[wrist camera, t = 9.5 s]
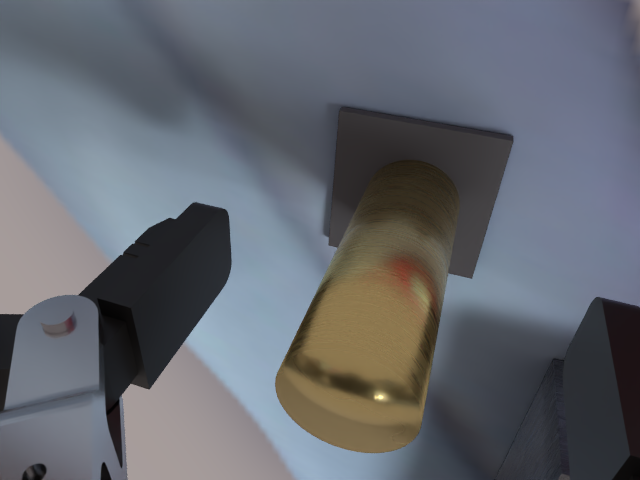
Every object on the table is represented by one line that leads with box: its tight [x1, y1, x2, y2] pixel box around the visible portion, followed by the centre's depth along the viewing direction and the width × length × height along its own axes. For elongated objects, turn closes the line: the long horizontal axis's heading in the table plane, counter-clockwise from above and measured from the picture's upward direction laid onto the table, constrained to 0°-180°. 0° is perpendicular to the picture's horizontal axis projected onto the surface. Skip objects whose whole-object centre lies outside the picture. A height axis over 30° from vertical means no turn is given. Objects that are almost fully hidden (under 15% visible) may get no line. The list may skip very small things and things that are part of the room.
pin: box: [275, 160, 460, 453], centre depth 12 cm, size 3×3×7 cm
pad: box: [329, 107, 513, 279], centre depth 14 cm, size 4×4×1 cm
